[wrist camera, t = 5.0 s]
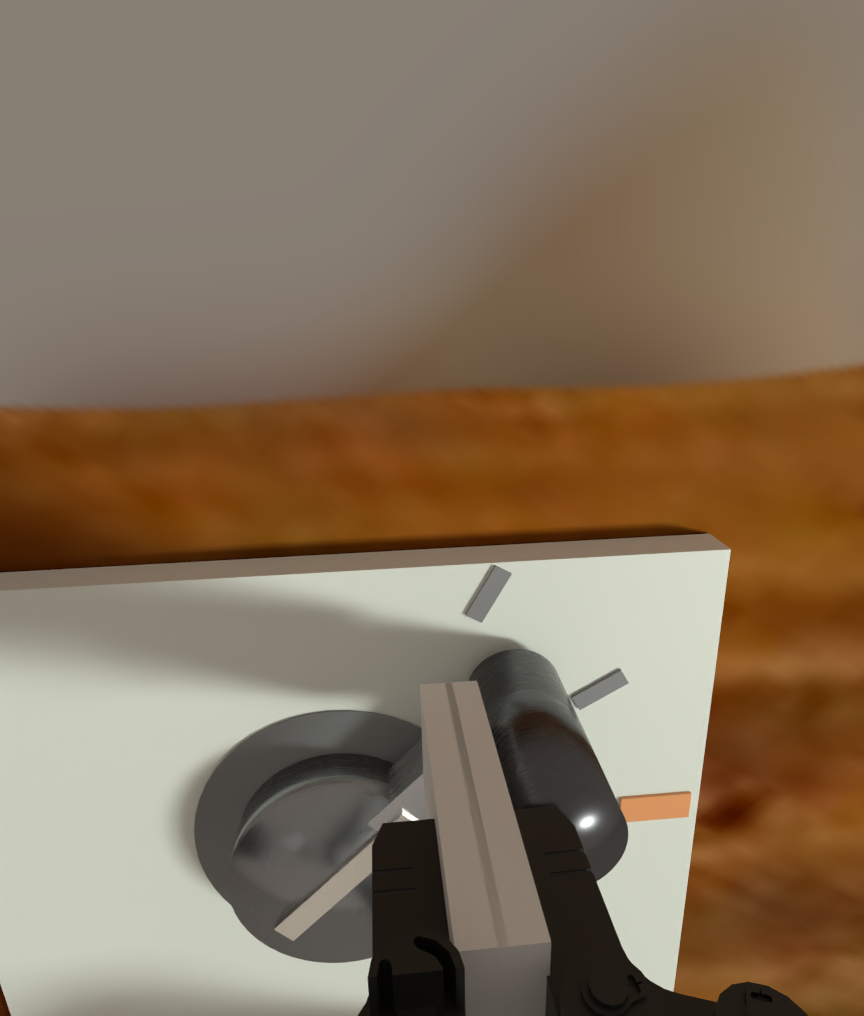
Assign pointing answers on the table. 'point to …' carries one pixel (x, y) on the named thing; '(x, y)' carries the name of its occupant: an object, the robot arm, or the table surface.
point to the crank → (405, 814)
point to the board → (309, 742)
